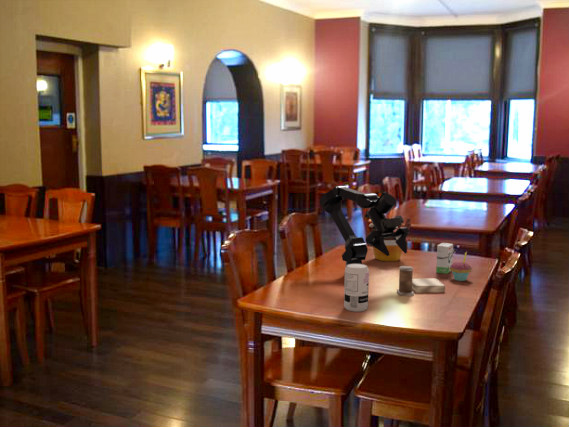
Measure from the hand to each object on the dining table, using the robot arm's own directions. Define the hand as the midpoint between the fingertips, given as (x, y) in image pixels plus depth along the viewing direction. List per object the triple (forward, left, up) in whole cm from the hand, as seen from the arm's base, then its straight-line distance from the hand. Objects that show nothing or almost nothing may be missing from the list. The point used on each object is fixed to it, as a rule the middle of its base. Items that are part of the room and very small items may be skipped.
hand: (397, 254), depth 243 cm
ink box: (+27, +26, -14) cm, 40 cm away
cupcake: (+29, +12, -14) cm, 35 cm away
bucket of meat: (+9, +51, -14) cm, 54 cm away
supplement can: (-21, -26, -14) cm, 36 cm away
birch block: (+11, -1, -14) cm, 18 cm away
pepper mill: (+1, -8, -13) cm, 16 cm away
